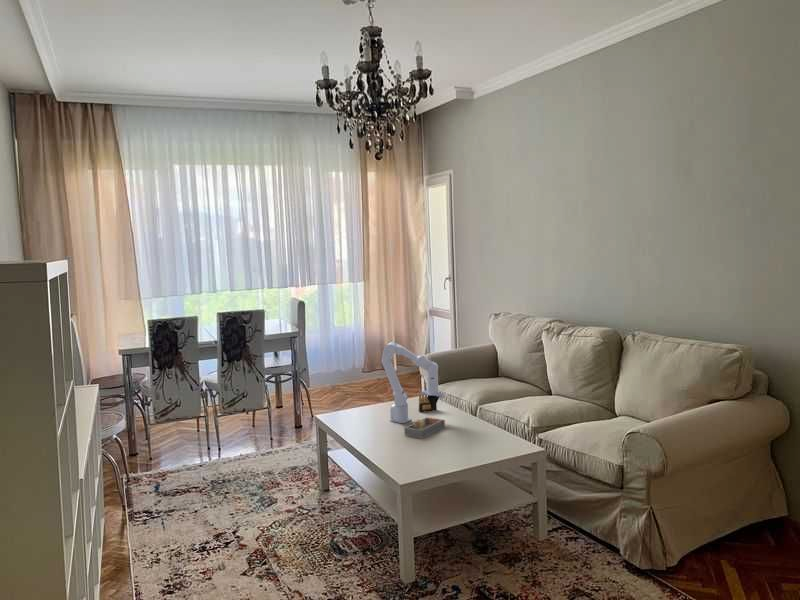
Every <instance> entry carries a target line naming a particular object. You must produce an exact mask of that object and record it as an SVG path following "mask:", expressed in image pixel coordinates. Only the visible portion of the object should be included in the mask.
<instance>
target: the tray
mask: <svg viewBox="0 0 800 600" xmlns="http://www.w3.org/2000/svg"><path fill="white" fill-rule="evenodd" d="M421 420H424V421H425V428H424V429H422V430H419V429H414V423H411V424H409V425H408V426H406V427H404V436H406V437H411V436H412V438H416V437H417V438H418V439H424V438H426V437H428V436H430V435H431V433H432V434H433V433H435V432H437V431H439V430H441V429H443V428H444V427H443V420H444V419H442V420H440V421H438V422H436V423H434V424H432V425H431V424H428V418H425V417H424V418H422V419H421Z"/></svg>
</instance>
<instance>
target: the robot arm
mask: <svg viewBox="0 0 800 600" xmlns="http://www.w3.org/2000/svg"><path fill="white" fill-rule="evenodd" d="M394 355H396V356H400V355H402V356H404V357H406V358H408V359H410V360H411V361H412V362H414V364H415V365H416V366H418V367H420V368H421V369H423V370H424V371H426V372H427V390H421V391H420V392H421V396H422V395H424V396H425V395H427V399H428V400H429V402H430V405H431V409H433V410H434V409H435V408H436V405H437V403H438V401H439V398H443V399H445V398H446V393H443V392H440V391H439V376H438V375H439V364H438V363H436V362H435V361H432V360H431V359H430V360H429V359H428V358H426V357H425V356H426V355H421V354H420V355H417V354H415V353H413V352H412V351H410V350H409V349H408V348H406V347H404V346H403V345H401V344H399V343H396V342H395V341H390V342H389V343H387V345H385V346H384V349H383V350H382V355H381V363H382V366H383V368H384V371H385V374H386V377H387V379H388V381H389V384H390V386H391V389H392V394H393V397H394V398H393V399H394V403H393V404H392V405H391V406H390V414H389V415H390V419H389V422H394V423H400V424H405V423H408V422H409V421H412V418H409V405H408V402H407V401H408V398H409V397H408V396H409V395H408V393H407V392H405V390H404V388H403V387H402V386H401V383H400V380H399V378H398V375H397V372H396V370H395V368H394V366H393V363H392V358H393V357H394Z"/></svg>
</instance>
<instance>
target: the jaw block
mask: <svg viewBox="0 0 800 600" xmlns="http://www.w3.org/2000/svg"><path fill="white" fill-rule="evenodd" d="M413 424H414V429H419V430H422V429H424V428H425V421H424V420H422V419H416V420H415V421H414V422H413Z"/></svg>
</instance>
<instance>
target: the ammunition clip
mask: <svg viewBox="0 0 800 600" xmlns="http://www.w3.org/2000/svg"><path fill="white" fill-rule="evenodd" d="M427 397H428V395H421V391H419V394H418V412H419V413H424V411H426V412H432V410H433V409H431V405H430V402H429V400H428V399H427ZM437 407H438V406H437V404H436V408H435V409H434V410H435V411H437V410H438V408H437Z"/></svg>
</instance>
